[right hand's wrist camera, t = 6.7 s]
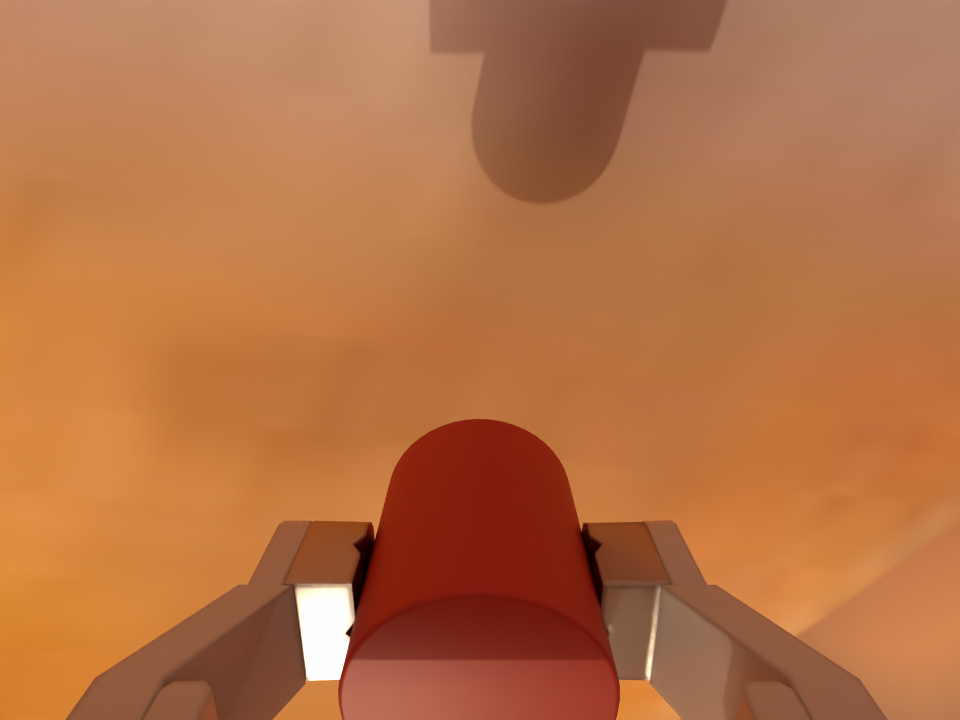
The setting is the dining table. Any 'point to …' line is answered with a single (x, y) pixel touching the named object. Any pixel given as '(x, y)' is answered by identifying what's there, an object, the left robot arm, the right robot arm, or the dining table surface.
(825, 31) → the dining table surface
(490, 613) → the can
